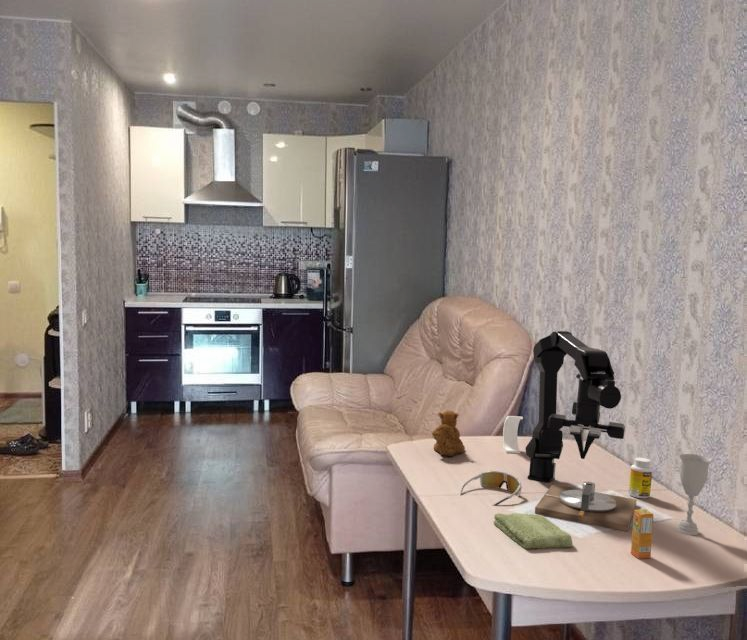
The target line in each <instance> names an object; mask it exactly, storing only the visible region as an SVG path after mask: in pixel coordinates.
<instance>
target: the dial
mask: <svg viewBox="0 0 747 640" xmlns="http://www.w3.org/2000/svg"><path fill="white" fill-rule="evenodd" d="M601 493H602V492H598V493H597V491H596V483H594V482H591V481H583V483H582V489H581V490H567V491H563V492H561V493H560V497H559V500H560V501H561V502H562V503H563V504H565V505H567V506H569V507H572V508H575V509H579V510H583V511H590V512H609V511H613V510H614V509H616V501H615V500H614V499H613V498H611V497H609V496H607V495H604V494H605V493H603V494H601Z"/></svg>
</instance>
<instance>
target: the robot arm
mask: <svg viewBox="0 0 747 640" xmlns="http://www.w3.org/2000/svg"><path fill="white" fill-rule="evenodd" d="M532 353H533V357H534V358H533V359H534V364H535V366H536V367H537V370H539V371H538V372H539V392H538V393H539V397H538V401H539V403H538V422H537V424H536V426H534V429H533V431H532V436H531V439H530V441H529V442H528V443H527V445H526V446H525V455H526V456H528V457H529V459H530V461H529V470H528V471H529V472H528V475H527V476H526V477H527V479H530V480H535V481H541V482H545V483H546V482H547V483H551V482H552V480H553V479H554V478H555V477H556V465H557V464H556V462H555V460H559V459H560V458H561V454H562V451H563V448H564V443H563V436H564V435H563V433H564V432H563V431H562V429H563V428H564V427H566V428H570V431H569V435H571V436H573V438H574V439H575V442H576V445H577V448H578V451H579V455H580V459H581V460H585V458H586V456H587V454H588V452H589V449H590V448H591V445H592V444H593V443H594V441H595V440H599V439H600V438H601V434H602V433H607V435H608V437H609V438H612V439H619V440H624V436H625V432H626V431H625V430H626V425H625V424H624V423H621V422H619V423H618V422H613V421H609V422H608V424H602V423H600V419H601V418H600V417H601V412H600V410H601V407H603V408H605V409H610V410H611V409H613V408H616V407H618V405H619V404H620V402H621V400H622V394H621V391H620V388H618V387H617V386H616V381H615V376H614V375H615V372H614V369H613V366H612V364H611V360H610V357H609V355H608V353H607V352H606V351H605V350H602V349H599V348H595V347H594V348H593V347H590V346H588V345H586V344H585V343H583V341H581V340H580V339H578V338H577V337H575V336H574V335H573V333H572V332H571V331H566V330H555V331H552V332H551V333H550V334H549V335H547V336H544V337H543V338H541V339H539V340H538V341H537V342H536V343H535V345H534V346H533V348H532ZM567 355H568V356H570V358H572V359H573V360H574V366H575V368H576V369H577V370H578V373H576V378H577V379H578V387H577V389H578V390H577V398H576V401H573V402H572V408H571V415H573V416H575V417H574V418H575V419H574V420H573V419H568V418H567V415H565V414H559V413H558V414H557V397H558V394H557V393H558V372H559V371H560V370H561V368H562V367H563V365H564V361H565V357H566V356H567ZM584 430H587V431H588V433H587V434H586V435H587V436H586V441H585V444H584Z"/></svg>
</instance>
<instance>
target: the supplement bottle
mask: <svg viewBox="0 0 747 640" xmlns="http://www.w3.org/2000/svg"><path fill="white" fill-rule="evenodd" d="M653 471H654V470H653V468H652V467H651V460H650V459H649V458H646V457H645V458H644V457H635V459H634V464H632V465H631V466H630V475H629V477H630V478H629V485H628V487H629V488H628V494H629V496H631V497H633V498H637V499H643V500H644V499H645V500H646V499H648V498H649V497H650V496H651V489H652V479H653Z"/></svg>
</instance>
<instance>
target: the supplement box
mask: <svg viewBox="0 0 747 640" xmlns="http://www.w3.org/2000/svg"><path fill="white" fill-rule="evenodd" d="M632 520H633V522H632V530H631V531H632V532H631V545H630V554H631V555H633V556H634V557H636V559H639V560H640V559H651V555H652V543H653V542H652V541H653V529H654V528H653V527H654V525H653V524H654V513H653V512H651V511H650V510H649V509H647V508H641V509H635V510H634V513H633V519H632Z"/></svg>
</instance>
